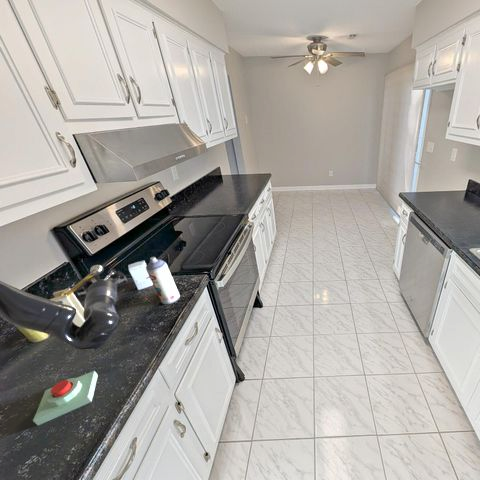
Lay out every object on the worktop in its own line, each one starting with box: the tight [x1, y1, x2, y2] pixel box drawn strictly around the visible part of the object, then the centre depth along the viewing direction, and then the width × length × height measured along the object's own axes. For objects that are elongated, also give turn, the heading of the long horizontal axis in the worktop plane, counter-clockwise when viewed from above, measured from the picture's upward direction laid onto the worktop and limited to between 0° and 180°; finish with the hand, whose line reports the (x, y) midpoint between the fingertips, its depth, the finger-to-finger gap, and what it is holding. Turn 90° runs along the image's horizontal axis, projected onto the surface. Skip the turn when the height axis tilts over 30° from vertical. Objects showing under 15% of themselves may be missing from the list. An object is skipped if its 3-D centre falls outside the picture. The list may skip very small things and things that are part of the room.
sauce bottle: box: [14, 325, 52, 344], centre depth 85 cm, size 7×6×20 cm
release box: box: [32, 370, 99, 426], centre depth 68 cm, size 11×9×4 cm
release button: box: [51, 379, 72, 397], centre depth 67 cm, size 4×4×2 cm
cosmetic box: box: [128, 260, 154, 291], centre depth 110 cm, size 6×4×12 cm
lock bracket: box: [49, 287, 85, 327], centre depth 89 cm, size 9×8×16 cm
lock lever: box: [58, 264, 105, 298], centre depth 87 cm, size 17×4×4 cm
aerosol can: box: [146, 256, 181, 306], centre depth 99 cm, size 7×7×20 cm
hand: (104, 273), depth 92 cm, fingers open, 4 cm apart
